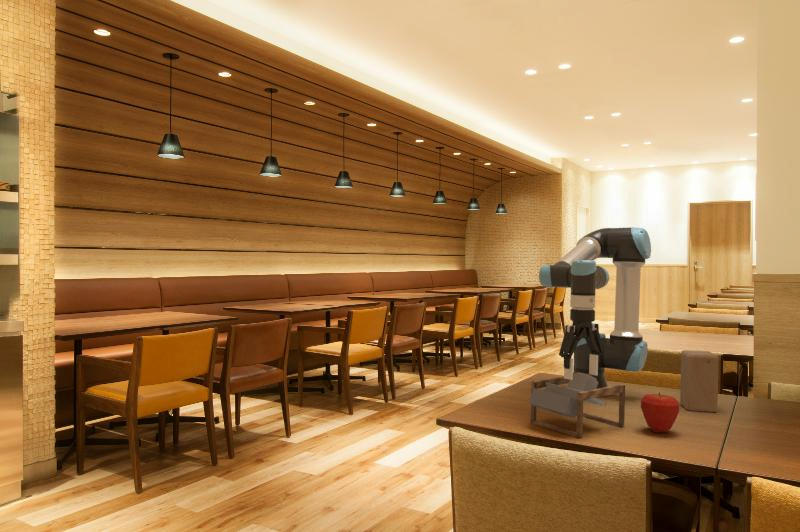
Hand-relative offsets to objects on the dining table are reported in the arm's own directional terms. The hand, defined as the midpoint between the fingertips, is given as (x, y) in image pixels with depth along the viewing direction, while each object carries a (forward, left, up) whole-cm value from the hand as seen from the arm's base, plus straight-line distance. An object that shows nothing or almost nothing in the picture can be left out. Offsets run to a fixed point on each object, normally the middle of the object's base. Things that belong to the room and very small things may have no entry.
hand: (581, 376), depth 185 cm
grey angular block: (0, -9, -11) cm, 14 cm away
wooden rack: (0, -2, -15) cm, 15 cm away
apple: (+18, +14, -15) cm, 28 cm away
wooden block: (+10, +53, -15) cm, 56 cm away
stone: (0, 0, -6) cm, 6 cm away
